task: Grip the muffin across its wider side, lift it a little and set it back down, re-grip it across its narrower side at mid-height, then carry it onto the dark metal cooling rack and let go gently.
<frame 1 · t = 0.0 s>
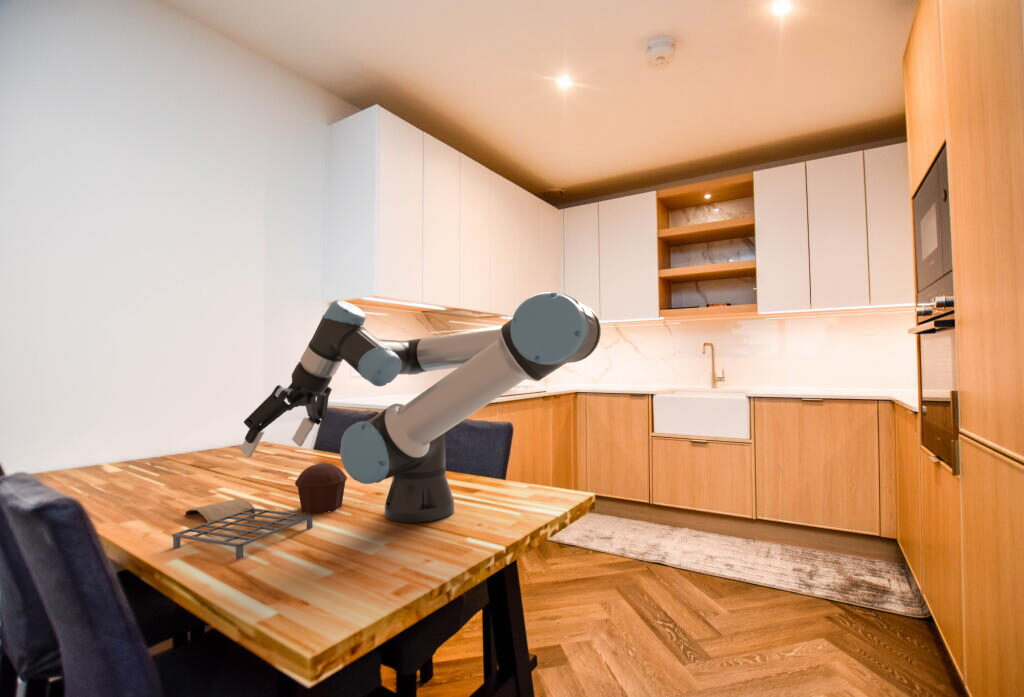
hand: (272, 447, 106), 15 cm above the table, tool tilted 35°, fingers open, 13 cm apart
cooling rack: (246, 537, 94), on the table
curved bark piece: (220, 516, 110), on the table
muffin: (321, 509, 112), on the table
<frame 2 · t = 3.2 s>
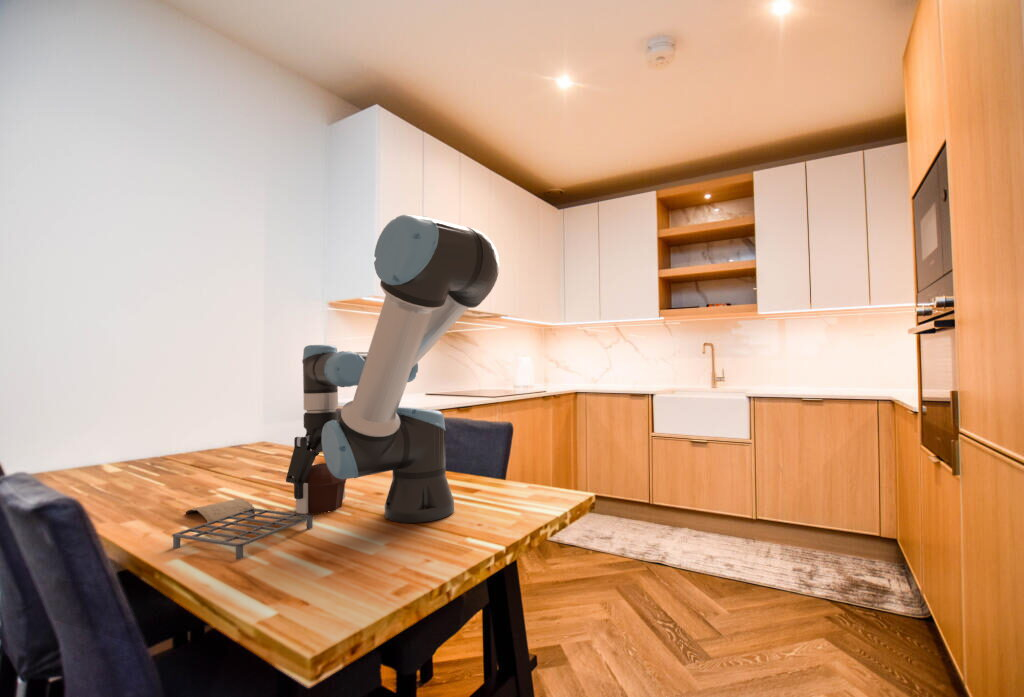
hand: (321, 505, 112), 1 cm above the table, tool pointing down, fingers closed on muffin, 11 cm apart
muffin: (321, 509, 112), on the table, touching gripper
everything else where it was.
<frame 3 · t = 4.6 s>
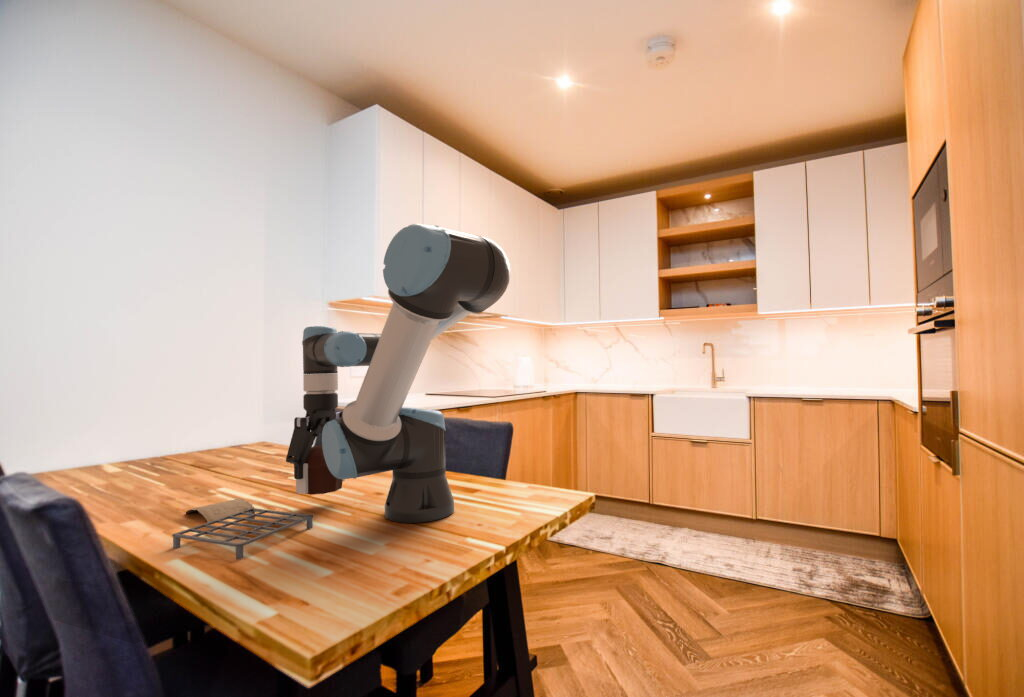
hand: (321, 486, 113), 5 cm above the table, tool pointing down, fingers closed on muffin, 11 cm apart
muffin: (321, 490, 113), point 4 cm above the table, touching gripper
everything else where it was.
when the fingers open (2 cm above the table, at t = 5.9 s): muffin stays where it is, on the table.
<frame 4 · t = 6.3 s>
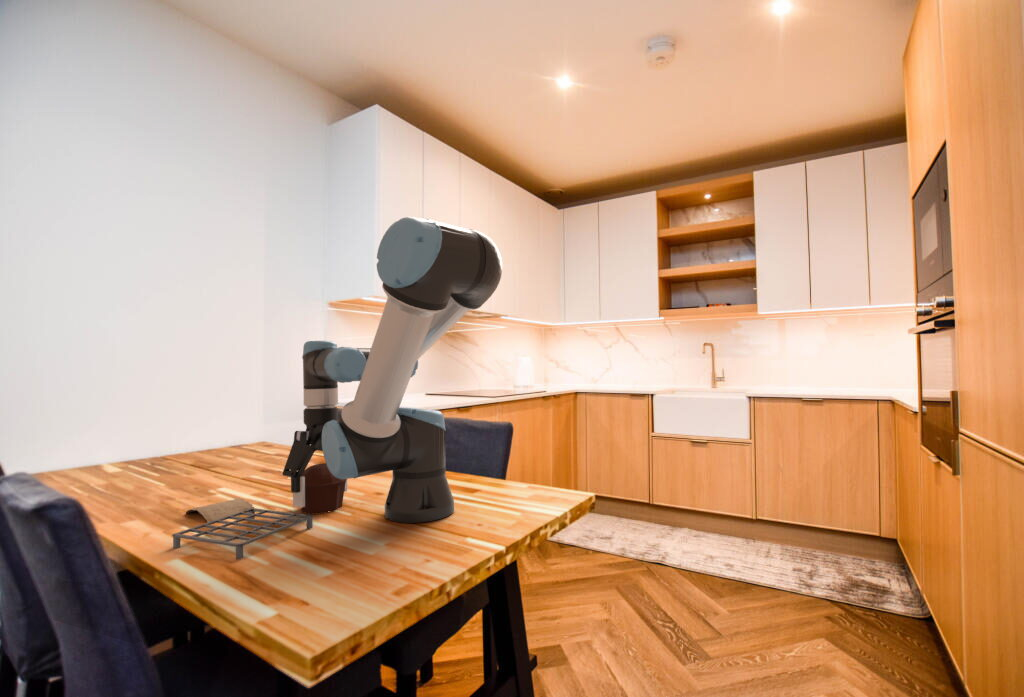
hand: (321, 498, 113), 2 cm above the table, tool pointing down, fingers open, 13 cm apart
muffin: (322, 509, 112), on the table
everything else where it was.
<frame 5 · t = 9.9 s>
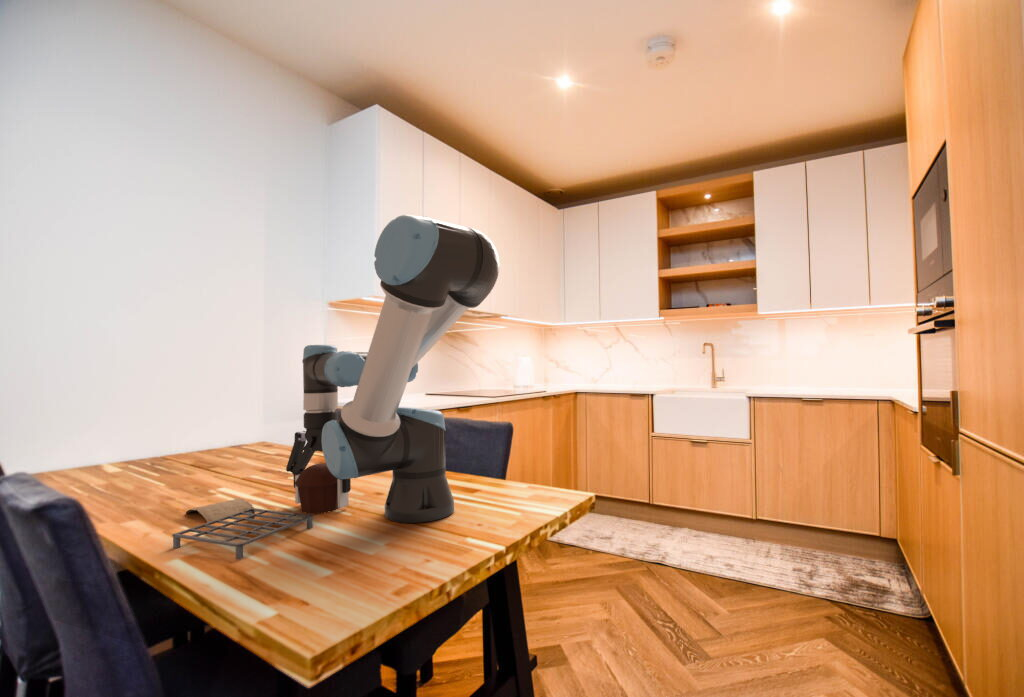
hand: (321, 504, 113), 1 cm above the table, tool pointing down, fingers closed on muffin, 12 cm apart
muffin: (321, 509, 112), on the table, touching gripper
everything else where it was.
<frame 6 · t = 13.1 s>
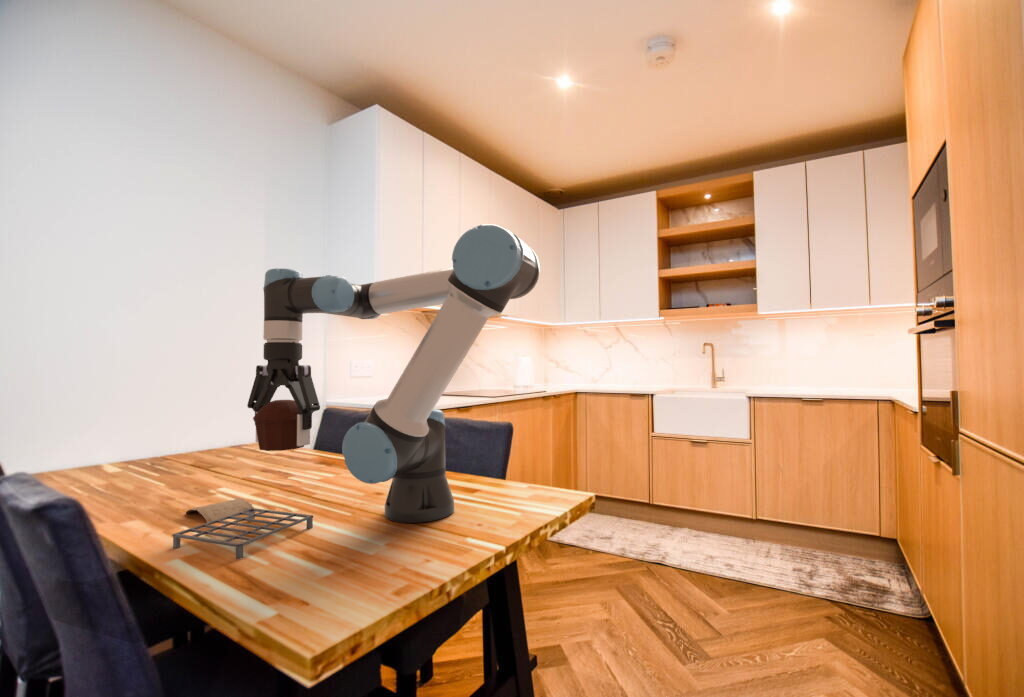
hand: (282, 443, 103), 17 cm above the table, tool pointing down, fingers closed on muffin, 12 cm apart
muffin: (282, 448, 103), point 16 cm above the table, touching gripper
everything else where it was.
when the fingers open (5 cm above the table, at t = 16.4 s): muffin drops 2 cm, resting on cooling rack.
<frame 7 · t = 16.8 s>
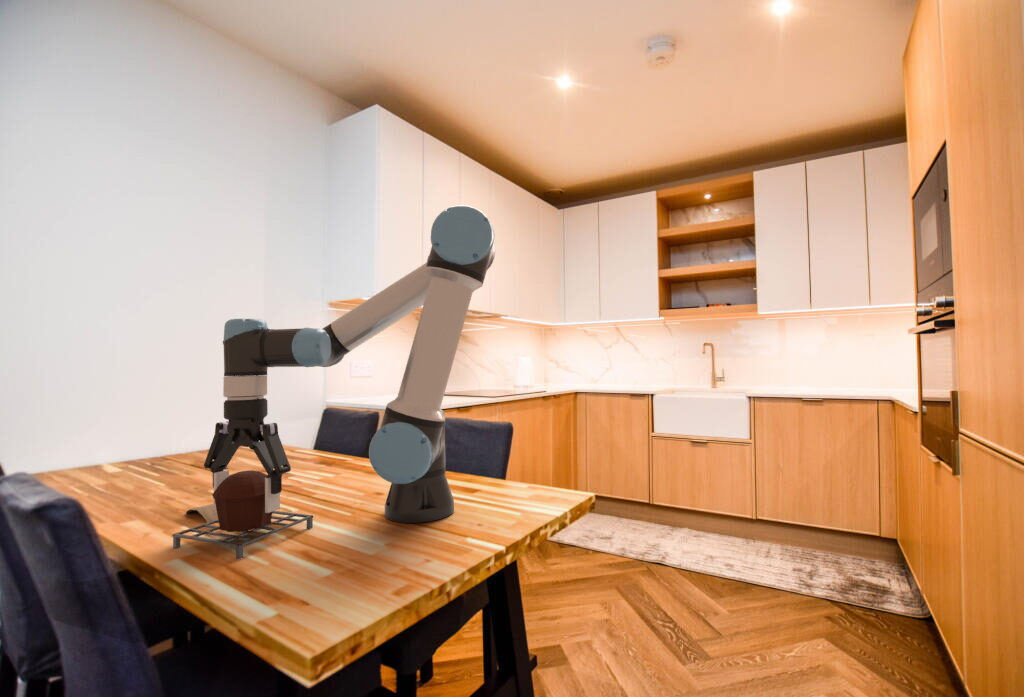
hand: (246, 507, 94), 6 cm above the table, tool pointing down, fingers open, 13 cm apart
muffin: (246, 525, 94), point 2 cm above the table, touching cooling rack
everything else where it was.
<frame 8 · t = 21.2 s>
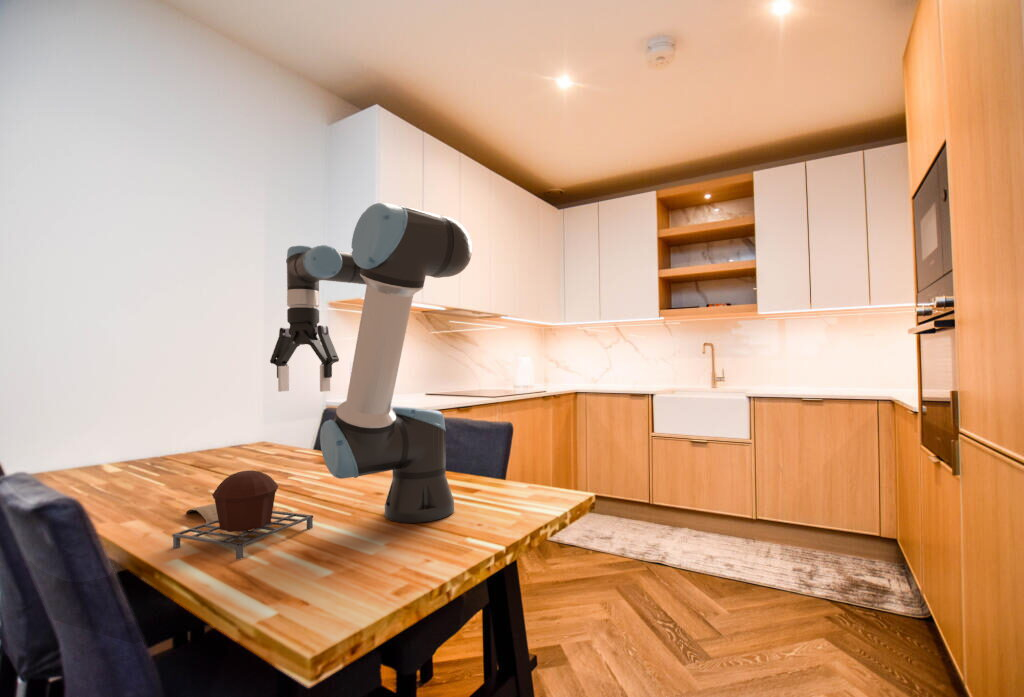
hand: (304, 391, 123), 27 cm above the table, tool pointing down, fingers open, 13 cm apart
nothing on the table moved.
at the end: muffin inside the target area on the cooling rack (0.1 cm from its centre), point 2.3 cm above the cooling rack's base; muffin tilted 0°; muffin touching cooling rack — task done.
